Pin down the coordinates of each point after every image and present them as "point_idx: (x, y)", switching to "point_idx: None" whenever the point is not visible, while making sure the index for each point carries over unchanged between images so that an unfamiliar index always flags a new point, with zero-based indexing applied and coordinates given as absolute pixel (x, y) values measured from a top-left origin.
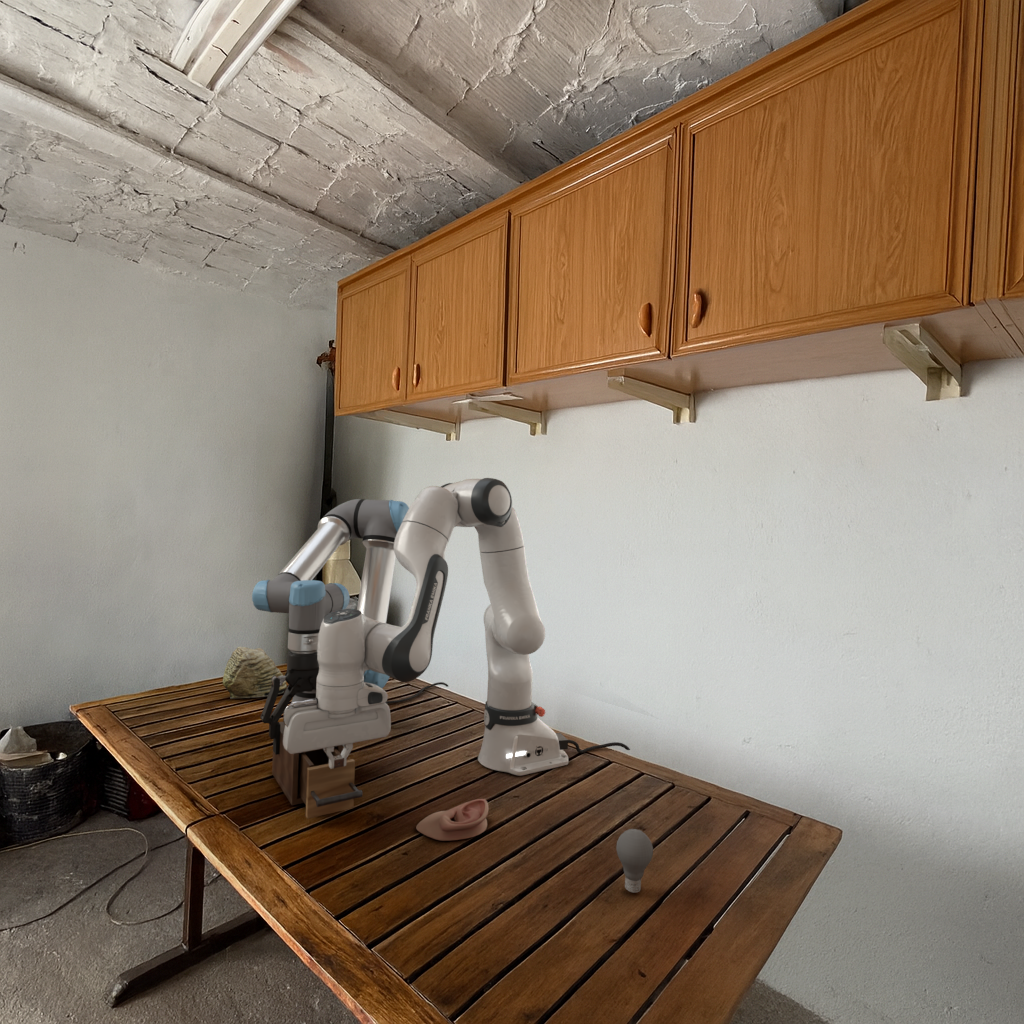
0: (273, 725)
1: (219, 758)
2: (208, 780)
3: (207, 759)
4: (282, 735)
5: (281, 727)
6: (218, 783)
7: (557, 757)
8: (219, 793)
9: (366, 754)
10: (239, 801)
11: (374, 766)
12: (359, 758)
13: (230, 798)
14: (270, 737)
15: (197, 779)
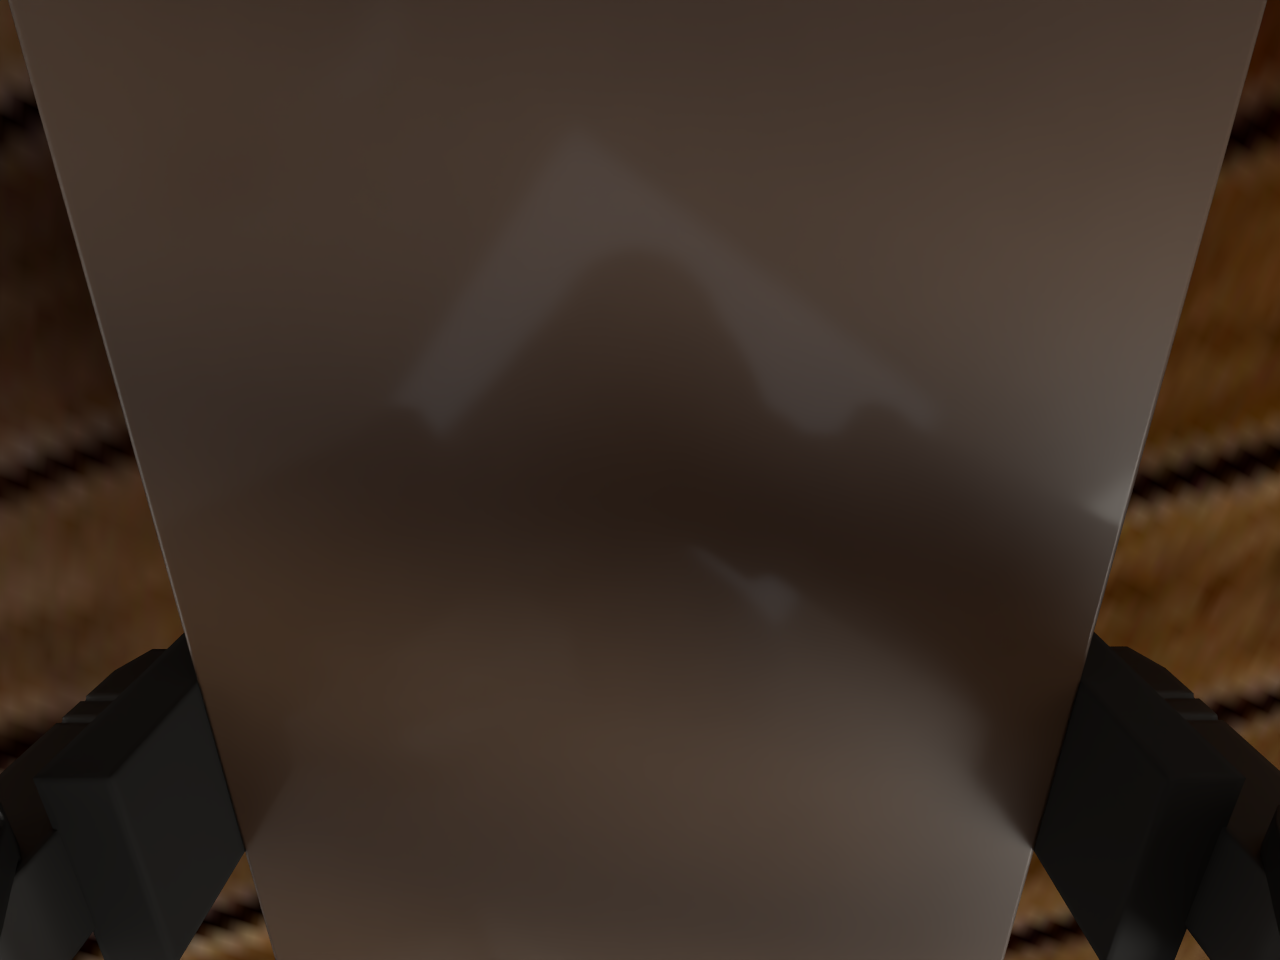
0: (1272, 810)
1: (1022, 935)
2: (1216, 681)
3: (1086, 947)
4: (1115, 510)
5: (979, 828)
6: (1185, 611)
7: None
8: (1254, 452)
9: (61, 622)
10: (1204, 237)
11: (8, 377)
12: (125, 578)
13: (1232, 328)
14: (1155, 663)
15: (1263, 722)
